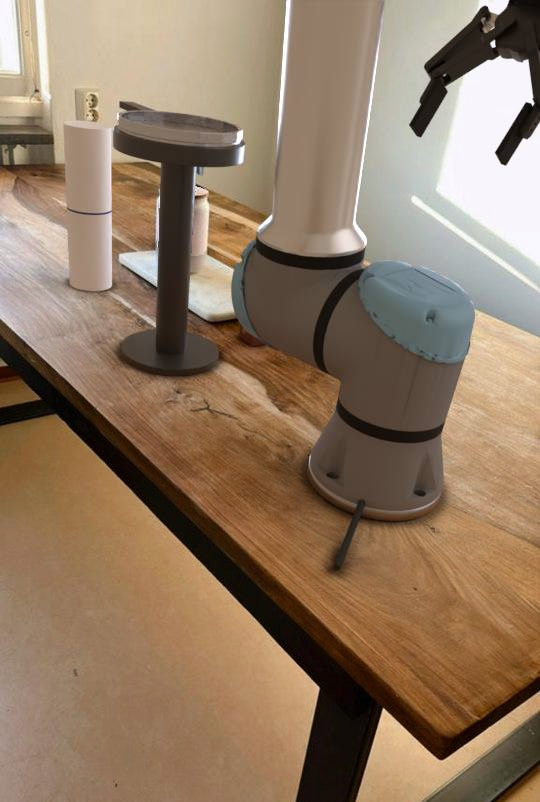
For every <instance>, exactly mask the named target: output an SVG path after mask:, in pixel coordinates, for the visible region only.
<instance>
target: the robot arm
mask: <svg viewBox="0 0 540 802" xmlns="http://www.w3.org/2000/svg"><path fill="white" fill-rule="evenodd" d="M386 2H387V1H386V0H286V8H285V22H284V36H283V37H284V38H283V50H282V51H283V52H282V67H281V79H280V80H281V82H280V96H279V109H278V124H277V140H276V151H275V152H276V153H275V165H274V166H275V167H274V182H273V197H272V209H271V210H272V211H271V214H270V215H269V216H268V217H267V218H266V219H265V220H264V221H263V222H262V223H261V224H259V225H258V227H257V228H256V233H255V238H254V239H252V240H251V241H250V242H249V243H248V244H247V245H246V246H245V247H244V248H243V249H242V251H241V253H240V258H241V260H240V262H236V263H235V265H234V269H233V272H232V277H231V285H230V295H231V297H230V298H231V303H232V308H233V311H234V314H235V316H236V319H237V321H238V322H239V324H240V326H241V325H242V327H243V328H244V329H245V330H246V331H247V332H248V333H249V334H251V335H252V336H254V337H256V338H257V339H259V340H260V341H261V342H263V343H264V345H265V346H267V347H268V348H270V349H272V350H275V351H277V352H282V353H284V354H286V355H287V356H290V357H292V358H294V359H295V360H298V361H300V362H302V363H303V364H306V365H308V366H310V367H312V368H314V369H316V370H318V371H320V372H322V373H324V374H326V375H329V376H331V377H332V378H334V379H337V380H338V381H339V382H340V383H339V389H338V395H337V400H336V405H335V410H334V411H333V413H332V415H331V417H330V419H329V420H328V422H327V423H326V425H325V427H324V429H323V430H322V432H321V433H320V435H319V437H318V438H317V440H316V442H315V444H314V445H313V447H312V448H311V449H312V450H311V452H310V455H309V458H308V464H307V470H306V471H307V478H308V480H309V483H310V484H311V486H312V488H313V489H314V490H315V491H316V493H317V494H318V495H320V496H321V497H322V498H323V499H324V500H325V501H327V502H329V503H330V504H332V505H333V506H335V507H337V508H339V509H340V510H343V511H345V512H347V513H349V514H353V515H352V517H351V520H350V523H349V525H348V528H347V530H346V533H345V535H344V538H343V541H342V544H341V546H340V548H339V551H338V553H337V555H336V558H335V560H334V563H333V565H332V569H333V570H334V571H336V572H337V571H340V570H341V568H342V566H343V563H344V561H345V559H346V556H347V553H348V551H349V549H350V546H351V543H352V541H353V538H354V535H355V534H356V533H355V532H356V530H357V527H358V525H359V521H360V519H361V517H362V518H367V519H371V520H376V521H377V520H378V521H387V522H400V521H408V520H409V521H410V520H413V519H417V518H421V517H423V516H425V515H427V514H429V513H430V512H432V511H433V510H434V509H435V508H436V507H437V505H438V503H439V502H440V499H441V496H442V492H443V489H444V481H445V475H444V473H445V472H444V457H443V441H442V440H443V439H442V434H443V431H444V427H445V425H446V420H447V418H448V414H449V411H450V408H451V405H452V401H453V398H454V395H455V391H456V389H457V387H458V383H459V379H460V376H461V372H462V369H463V366H464V364H465V360H466V357H467V356H468V355H469V352H470V348H471V338H472V334H473V329H474V325H475V319H476V309H475V306H474V303H473V302H472V299H471V297H470V295H469V294H468V293H467V291H466V290H464V289H463V287H461V286H460V285H459V284H457V283H456V282H455V281H454V280H451V279H450V278H448V277H447V276H444V275H443V274H440V273H439V272H437V271H434V270H432V269H429V268H426V267H424V266H421V265H411V264H410V263H408V262H405V261H399V260H378V261H374V262H371V263H370V264H368V265H367V266H366V267H364V263H365V261H364V260H365V255H366V247H367V241H368V240H367V237H366V235H365V234H364V232H363V231H362V230H361V229H360V228H359V226H358V225H357V223H356V217H357V216H356V214H357V209H358V201H359V194H360V187H361V180H362V172H363V166H364V158H365V150H366V144H367V137H368V129H369V123H370V114H371V109H372V108H371V107H372V101H373V94H374V86H375V80H376V79H375V78H376V73H377V64H378V58H379V50H380V43H381V37H382V29H383V22H384V16H385V15H384V14H385V8H386ZM489 8H490V7H488V5H483V6H481V7H480V8H479V9H478V11H477V12H476V13H475V15H474V17H473V18H472V19H471V21H470V22H469V23H468V24H467V25H465V26H464V27H463V28H462V29H461V30H460V31H459V32H458V33H456V34H455V36H453V37H452V38H451V39H450V40H449V41H447V43H446V44H444V45H443V46H442V47H441V48H440V49H439V50H438V51H436V53H435V54H434V55H432V56H431V57H430V58H429V59H428V60H427V61H426V62H425V63H424V65H423V69H424V70H425V73H426V74H427V76H428V77H429V79H430V80H429V81H428V83H427V85H426V87H425V89H424V91H423V92H422V94H421V95H420V97H419V100H418V101H419V104H420V105H419V107H418V109H417V110H416V112H415V113H414V115H413V117H412V118H411V120H410V122H409V124H408V126H409V128H410V129H411V130H412V132H413V133H414V134H415V136H416V137H418V138H420V139H422V137H423V135H424V134H425V132H426V130H427V129H428V127H429V125H430V123H431V122H432V120H433V118H434V117H435V114H436V113H437V112H438V110H439V108H440V106H441V104H442V103H443V101H444V99H445V98H446V96H447V94H448V93H449V92H448V88H447V86H450V84H452V83H454V82H455V81H457V80H459V79H460V78H462V77H464V76H465V75H466V74H468V73H470V72H471V71H474V69H476V68H478V67H479V66H481V65H482V64H485V63H486V62H487V61H495V60H496V59H498V58H499V57H501V59H504V60H514V61H516V62H517V63H524V61H527V62H528V68H529V77H530V84H531V91H532V98H531V99H532V101H533V104H532V103H531V102H528V101H525V102H524V103H523V106H522V107H521V109H520V111H519V112H518V114H517V116H516V117H515V119H514V121H513V122H512V124H511V125H510V127H509V129H508V130H507V132H506V133H505V134H504V136H503V139H502V140H501V141H500V143H499V145H498V147H496V150H495V151H494V154H495V155H496V158H497V159H498V162H499V163H500V165H502V166H504V167H505V166H508V164H509V162H510V160H511V159H512V158H513V156H514V154H515V153H516V151H517V149H518V147H519V146H520V145H521V143H522V141H523V140H529V139H530V138H531V137H532V136H533V134H534V132H535V130H536V129H537V127H538V126H539V124H540V0H508V3H507V5H506V7H505V8H504V9H503V10H502V11H501V12H500V13H494V12H491V11H490V9H489ZM492 42H494V45H495V46H494V47H493V46H492V44H491V43H492Z"/></svg>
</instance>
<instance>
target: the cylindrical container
mask: <svg viewBox="0 0 540 802" xmlns="http://www.w3.org/2000/svg"><path fill="white" fill-rule="evenodd" d="M62 125H63V126H62V127H63V128H62V129H63V148H64V149H63V152H64V170H65V171H64V176H65V200H66V226H67V249H68V273H69V275H68V276H69V278H68V279H69V285H70V286H71V287H72V288H74V289H77V290H80V291H86V292H101V291H106V290H109V289H111V288H112V286H113V230H112V229H113V226H112V225H113V221H112V220H113V215H112V213H113V210H112V207H113V205H112V204H113V203H112V202H113V201H112V199H113V198H112V188H113V187H112V126H111V125H110V124H106V123H102V122H97V121H89V120H78V119H77V120H76V119H73V120H64V121H63V122H62Z"/></svg>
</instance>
